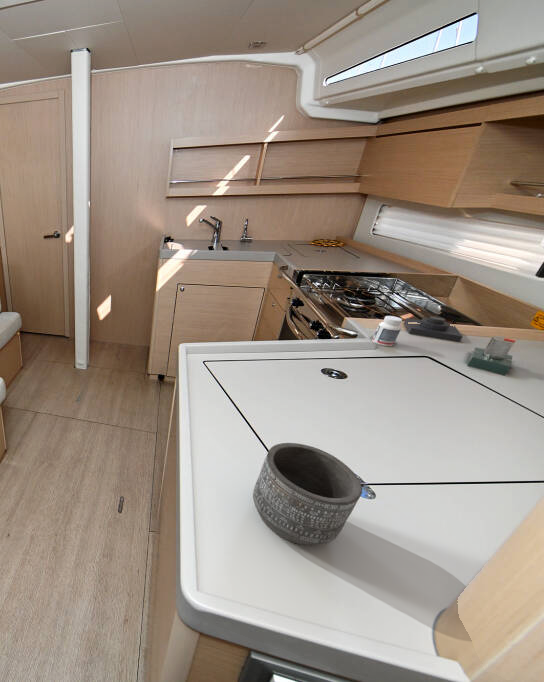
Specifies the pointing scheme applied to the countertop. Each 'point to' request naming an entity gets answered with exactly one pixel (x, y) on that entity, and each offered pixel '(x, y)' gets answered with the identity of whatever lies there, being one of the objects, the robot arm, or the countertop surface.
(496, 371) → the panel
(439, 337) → the housing
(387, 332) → the pill bottle
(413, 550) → the countertop surface
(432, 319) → the button
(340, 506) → the planter
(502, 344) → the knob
